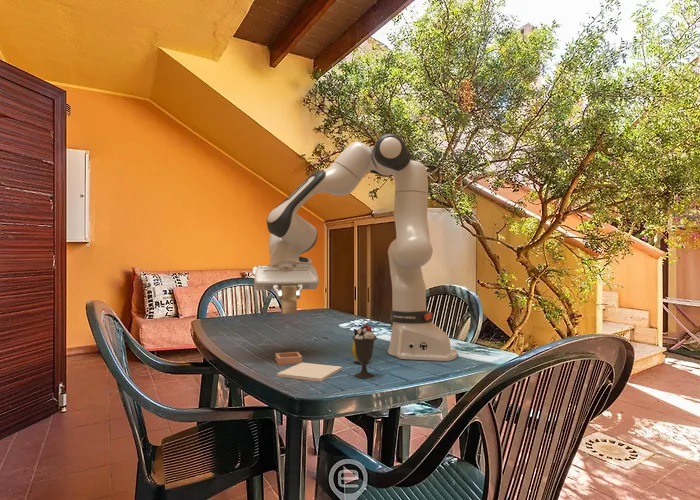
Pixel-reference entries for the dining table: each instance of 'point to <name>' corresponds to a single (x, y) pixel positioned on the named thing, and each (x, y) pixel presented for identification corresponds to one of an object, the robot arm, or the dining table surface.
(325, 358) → the dining table surface
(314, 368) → the tile
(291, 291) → the birch post
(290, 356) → the sleeve holder
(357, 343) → the sundae
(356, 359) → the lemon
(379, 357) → the dining table surface
